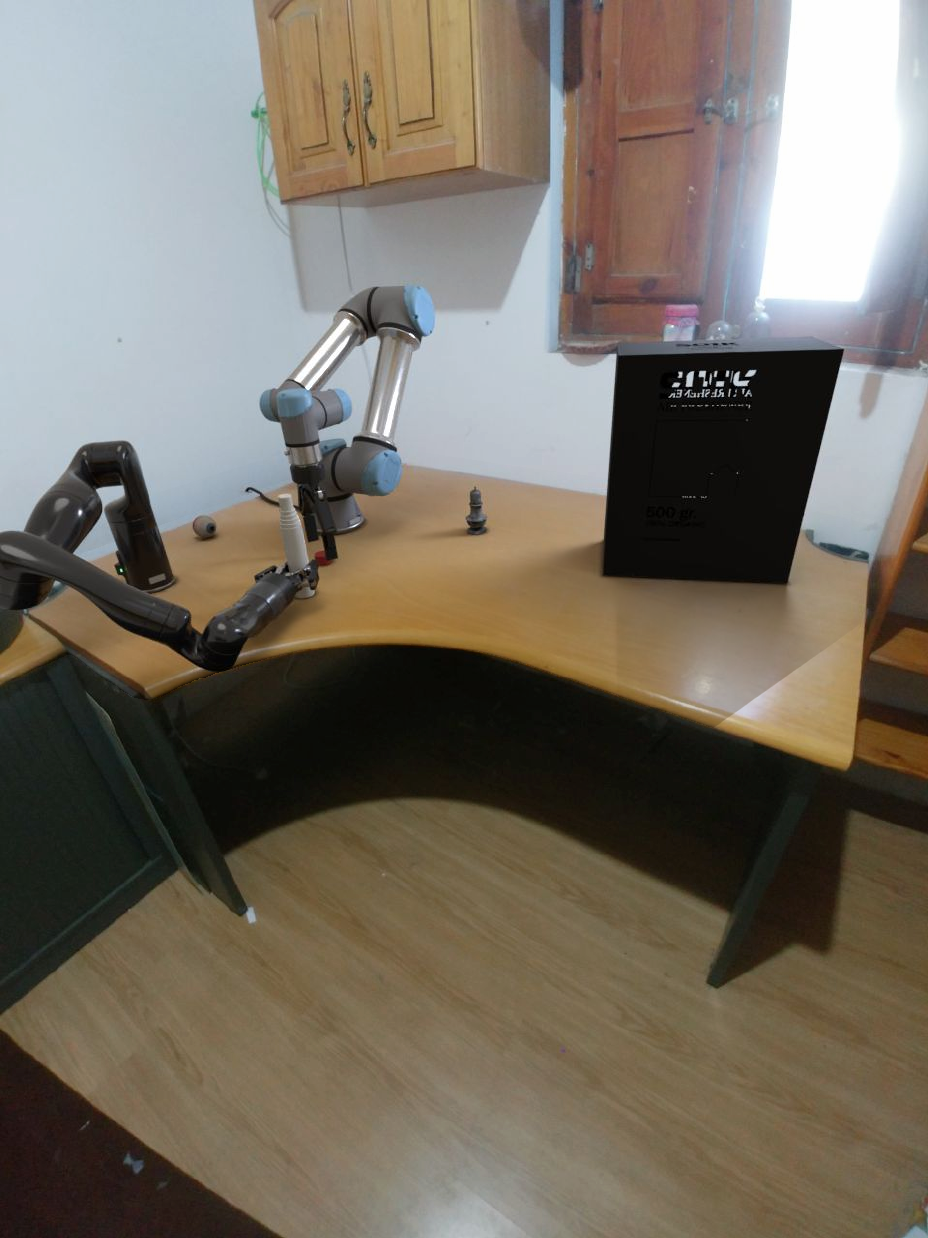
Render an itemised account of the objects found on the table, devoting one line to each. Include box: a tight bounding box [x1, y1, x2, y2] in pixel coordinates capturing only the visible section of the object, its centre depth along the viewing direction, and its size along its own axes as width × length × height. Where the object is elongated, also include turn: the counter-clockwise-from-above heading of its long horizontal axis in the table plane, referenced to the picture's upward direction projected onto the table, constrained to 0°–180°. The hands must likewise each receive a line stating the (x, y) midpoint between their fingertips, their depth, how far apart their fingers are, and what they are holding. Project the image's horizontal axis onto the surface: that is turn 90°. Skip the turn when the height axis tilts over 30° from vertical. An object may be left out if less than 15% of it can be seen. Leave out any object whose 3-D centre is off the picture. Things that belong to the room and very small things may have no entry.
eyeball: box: [192, 514, 217, 538], centre depth 165 cm, size 6×6×6 cm
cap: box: [314, 550, 333, 567], centre depth 147 cm, size 4×4×2 cm
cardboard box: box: [602, 336, 845, 585], centre depth 127 cm, size 38×20×45 cm, turn 78°
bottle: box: [277, 493, 316, 599], centre depth 128 cm, size 4×4×22 cm
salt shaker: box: [464, 486, 489, 535], centre depth 157 cm, size 6×6×12 cm
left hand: (304, 562), depth 133 cm, fingers closed on bottle, 4 cm apart
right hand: (322, 549), depth 146 cm, fingers open, 13 cm apart
